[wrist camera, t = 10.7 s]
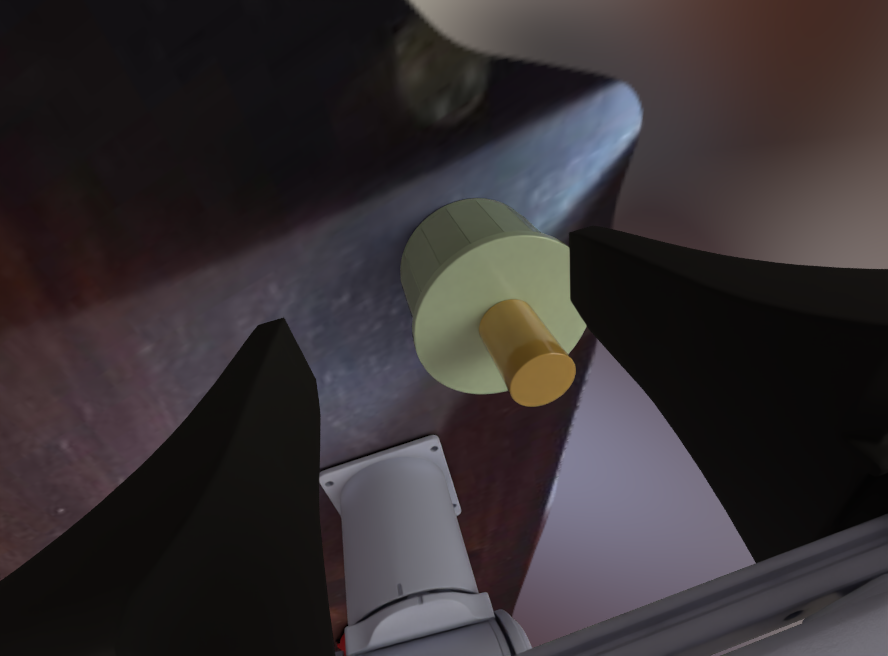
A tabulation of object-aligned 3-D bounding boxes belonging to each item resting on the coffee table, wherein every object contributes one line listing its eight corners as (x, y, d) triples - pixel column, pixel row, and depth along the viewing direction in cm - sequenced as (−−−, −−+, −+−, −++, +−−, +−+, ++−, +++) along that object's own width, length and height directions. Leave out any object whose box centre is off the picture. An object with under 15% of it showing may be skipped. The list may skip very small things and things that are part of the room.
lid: (580, 349, 21) (637, 418, 17) (430, 398, 20) (456, 480, 17) (581, 200, 16) (657, 251, 13) (387, 256, 16) (410, 328, 12)
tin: (538, 302, 24) (581, 356, 20) (417, 340, 24) (438, 402, 20) (529, 180, 20) (581, 218, 16) (383, 221, 20) (401, 272, 16)
